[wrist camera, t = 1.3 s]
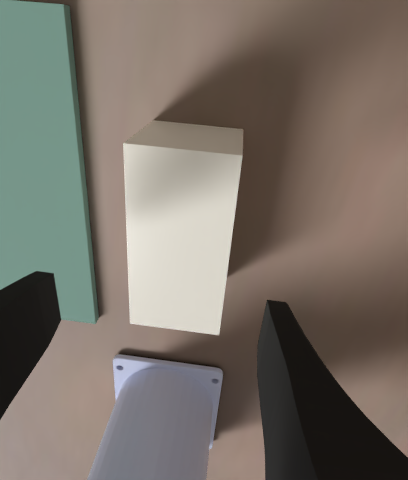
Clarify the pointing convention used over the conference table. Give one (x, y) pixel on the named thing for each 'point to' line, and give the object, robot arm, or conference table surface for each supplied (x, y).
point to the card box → (180, 222)
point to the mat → (43, 157)
